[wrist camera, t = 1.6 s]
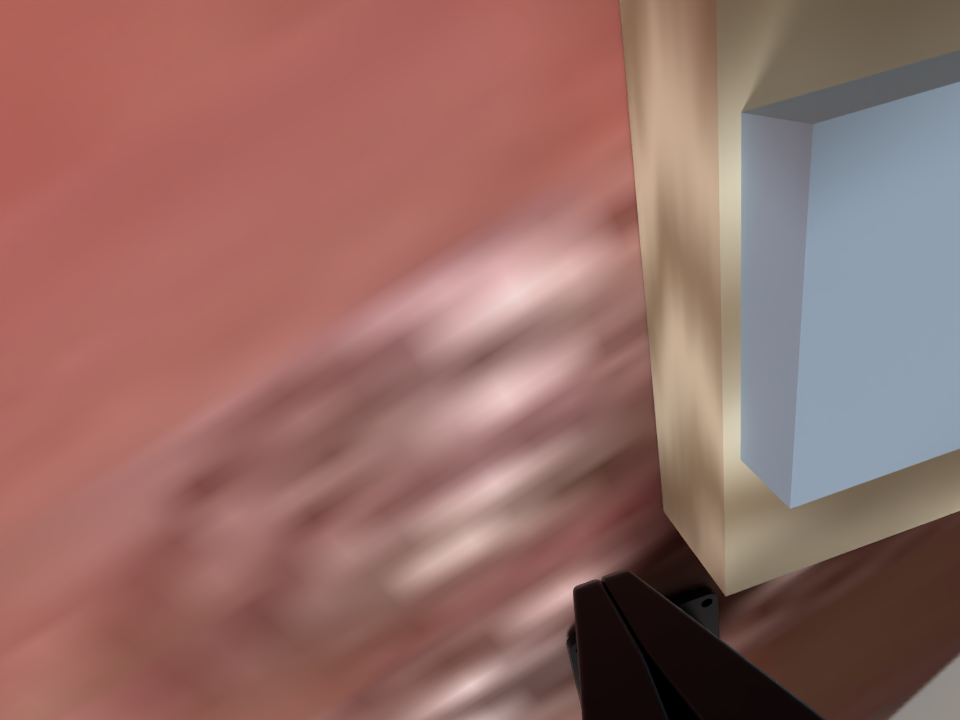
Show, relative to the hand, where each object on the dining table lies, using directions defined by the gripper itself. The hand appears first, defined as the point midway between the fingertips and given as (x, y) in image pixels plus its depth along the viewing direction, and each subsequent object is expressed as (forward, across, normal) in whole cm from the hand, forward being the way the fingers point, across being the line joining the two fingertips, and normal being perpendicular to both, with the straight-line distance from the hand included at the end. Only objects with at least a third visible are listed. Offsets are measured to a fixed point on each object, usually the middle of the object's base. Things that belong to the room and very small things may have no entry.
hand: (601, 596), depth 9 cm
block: (+6, -9, 0) cm, 11 cm away
